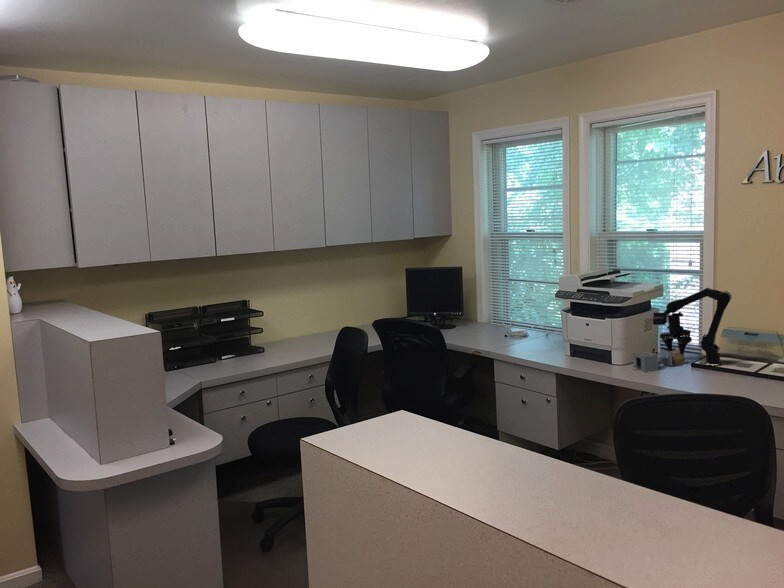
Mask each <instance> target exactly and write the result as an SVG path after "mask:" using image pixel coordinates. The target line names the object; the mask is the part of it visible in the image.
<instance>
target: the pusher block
mask: <svg viewBox="0 0 784 588" xmlns="http://www.w3.org/2000/svg"><path fill="white" fill-rule="evenodd" d="M671 358H672V365H671V366H675V367H676V366H683V365H686V361H685V353H684V354H683V355H681V353H680V350H679V349H677V350H672V351H671Z"/></svg>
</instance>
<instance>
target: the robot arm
mask: <svg viewBox="0 0 784 588" xmlns="http://www.w3.org/2000/svg"><path fill="white" fill-rule="evenodd" d="M707 297H708V298H710V299H712V300H714V301H715V300H716V310H715V312H714V314H713V317H712V321H711V323H710V326H709V329H708V332H707V334H706V333H704V334H703V336H702V337H701V341H700V343H699V344H700V347H701V350H702V351H704V352H705V363H706V362H707V363H709V364H719V363H721V355H720V353H719V351H720V346H719V345H717V344H716V339H717V338H716V337H717V332H718V330H719V328H720V325H721V324H720V323H721V321H722V319H723V316H724V314H725V310H726V308H728V305H729V303H730V302H731V300H732V297H733V296H732V294H731V292H729V291H726V290H725V291H724V290H723V291H721V290H718V289H712V288H710V287H706V288H704V289H702V290H700V291H698V292H695V293H693V294H690V295H688V296H686V297H684V298H679V299H675V300H671V301H670V302H668V303H667V304H666V308H665V310H664V311H663V312H658V311H656V312H655V311H654V312H653V313H652V324H653V326H666V324H668V326H666V328H667V330H668V332H662V333H659V339H660V340H661V341H662V342H663V343H664V345H665V346H666V348H667V351H673V341H674V340H676V341H677V343H676V344H677V347H678V350H680V353H681V355H683V354H684V355H685V350H686V347H687V345H688V344H690V343H691V342H692V337H691V334H692V333H691V332H692V330H689V329H684V327H683V326H682V325H681V318H682V317H683V316H684V314H683V313H682V312H681V311H680V310H681V309H682V308H684V307H686V306H688V305H690V304H692V303H695V302H697V301H699V300H701V299H703V298H707ZM678 311H679V312H678Z"/></svg>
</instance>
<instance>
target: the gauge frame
mask: <svg viewBox="0 0 784 588" xmlns="http://www.w3.org/2000/svg"><path fill="white" fill-rule="evenodd" d="M658 358H659V357H658V354H657V353H648V352H642V351H641V352H639V353H638V352H637V353H632V364H633V365H632V366H633V369H634V368H636V369H640V370H641V372H642V371H644V372H643V373H648V371H651V372H655V371H659V365H662V364H663V363H661V362H658Z"/></svg>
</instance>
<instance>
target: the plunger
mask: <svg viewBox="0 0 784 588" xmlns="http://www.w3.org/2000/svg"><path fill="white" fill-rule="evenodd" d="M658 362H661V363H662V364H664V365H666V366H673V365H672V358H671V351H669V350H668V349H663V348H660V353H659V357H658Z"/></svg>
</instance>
